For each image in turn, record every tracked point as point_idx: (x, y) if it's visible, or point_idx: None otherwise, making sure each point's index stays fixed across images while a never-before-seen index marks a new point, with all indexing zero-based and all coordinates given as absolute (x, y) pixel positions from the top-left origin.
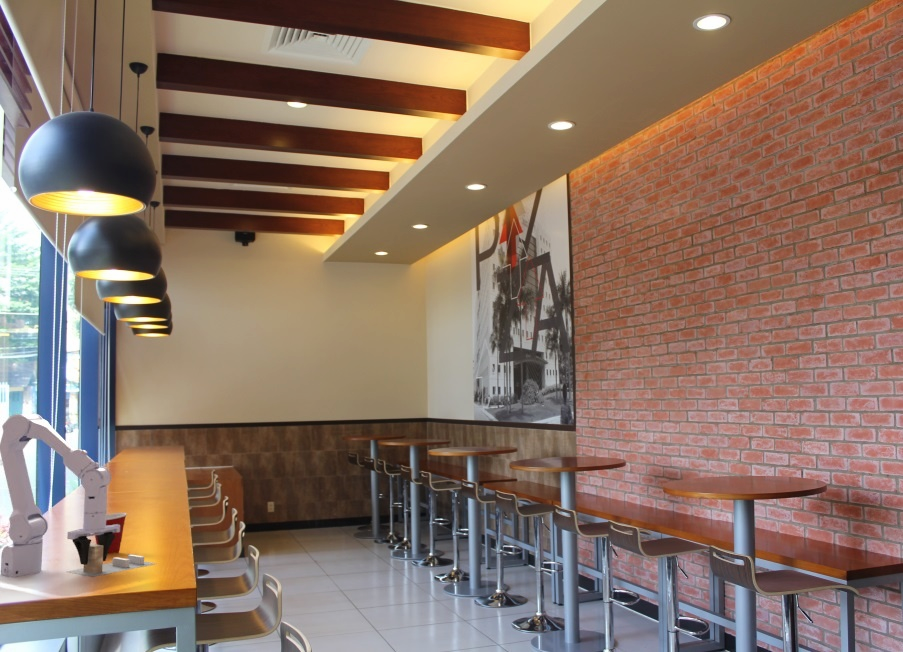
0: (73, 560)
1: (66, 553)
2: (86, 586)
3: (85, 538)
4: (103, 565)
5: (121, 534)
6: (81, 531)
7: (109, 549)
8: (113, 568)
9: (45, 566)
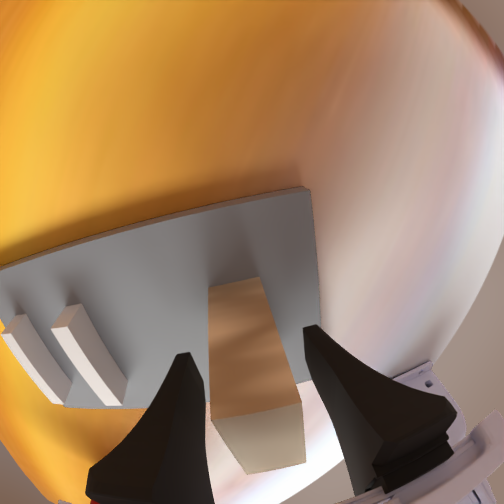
0: None
1: None
2: (374, 85)
3: (397, 465)
4: None
5: (92, 501)
6: (476, 485)
7: None
8: (135, 322)
9: None
